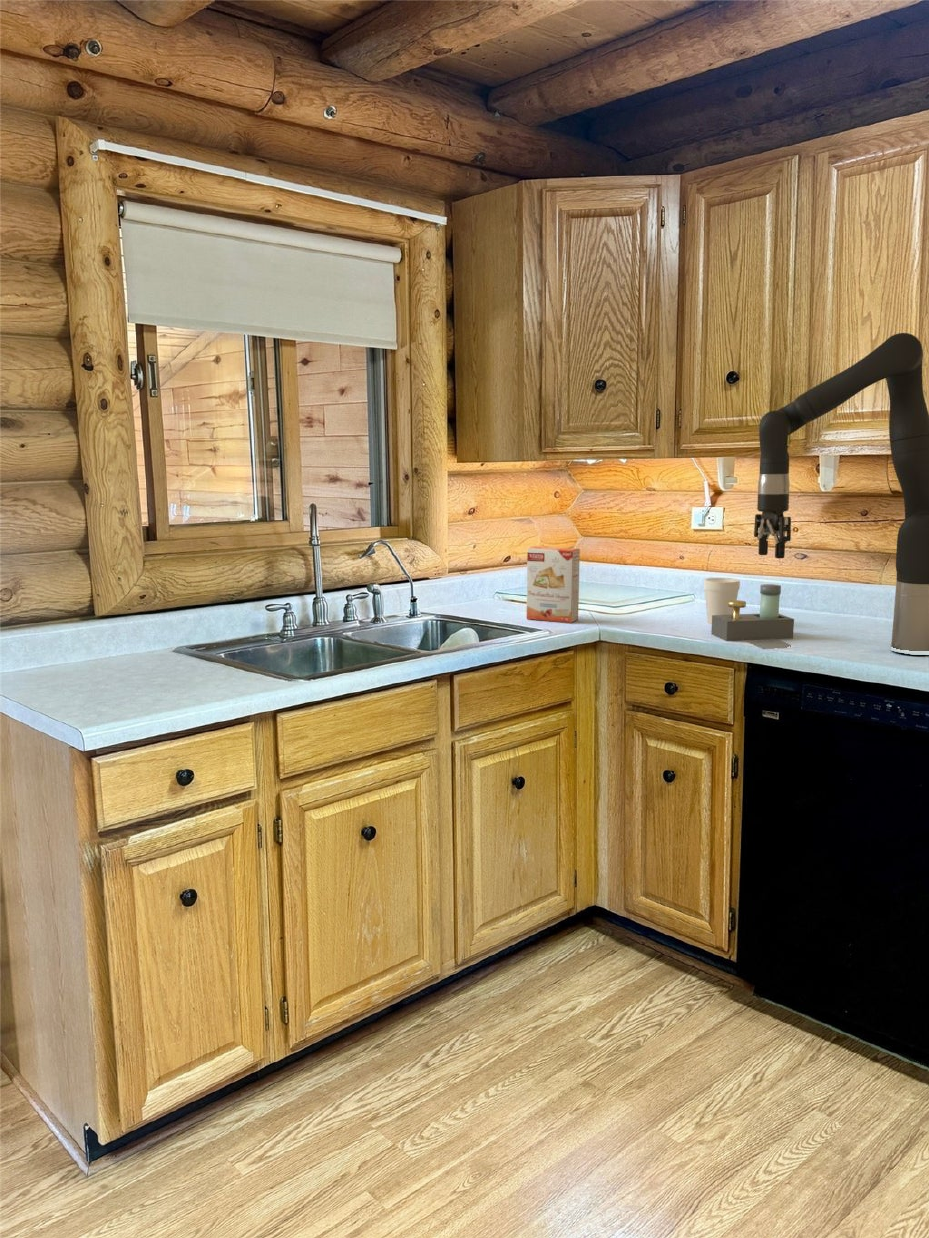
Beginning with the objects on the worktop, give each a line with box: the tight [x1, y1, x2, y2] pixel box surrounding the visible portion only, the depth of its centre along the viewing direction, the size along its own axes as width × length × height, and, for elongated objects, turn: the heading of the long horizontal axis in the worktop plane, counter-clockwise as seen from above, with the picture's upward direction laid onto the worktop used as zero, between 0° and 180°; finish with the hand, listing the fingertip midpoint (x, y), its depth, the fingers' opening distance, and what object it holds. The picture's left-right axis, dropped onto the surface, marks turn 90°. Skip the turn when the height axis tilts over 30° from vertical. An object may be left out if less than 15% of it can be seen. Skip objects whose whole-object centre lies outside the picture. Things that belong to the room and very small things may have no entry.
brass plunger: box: [728, 599, 747, 619], centre depth 245 cm, size 4×4×9 cm
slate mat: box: [745, 639, 792, 650], centre depth 236 cm, size 9×9×1 cm
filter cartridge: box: [759, 583, 782, 619], centre depth 246 cm, size 5×5×13 cm
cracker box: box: [526, 545, 581, 624], centre depth 273 cm, size 14×6×21 cm, turn 62°
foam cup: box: [703, 577, 741, 625], centre depth 264 cm, size 10×9×13 cm
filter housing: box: [710, 613, 795, 642], centre depth 246 cm, size 18×9×6 cm, turn 100°
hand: (771, 556), depth 243 cm, fingers open, 8 cm apart
